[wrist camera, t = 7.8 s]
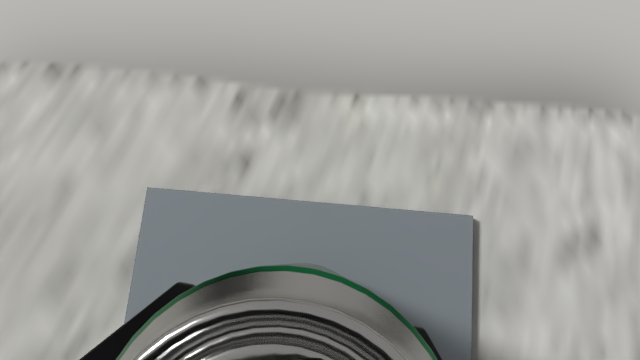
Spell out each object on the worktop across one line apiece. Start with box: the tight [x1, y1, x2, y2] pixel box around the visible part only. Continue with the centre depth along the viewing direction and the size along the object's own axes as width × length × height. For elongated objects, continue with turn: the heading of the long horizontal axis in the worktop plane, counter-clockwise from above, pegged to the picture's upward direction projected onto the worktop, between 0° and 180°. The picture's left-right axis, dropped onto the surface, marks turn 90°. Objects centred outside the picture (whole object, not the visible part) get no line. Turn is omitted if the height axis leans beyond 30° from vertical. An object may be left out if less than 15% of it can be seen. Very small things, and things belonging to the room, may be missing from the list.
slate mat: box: [124, 187, 473, 360], centre depth 17 cm, size 14×10×1 cm
